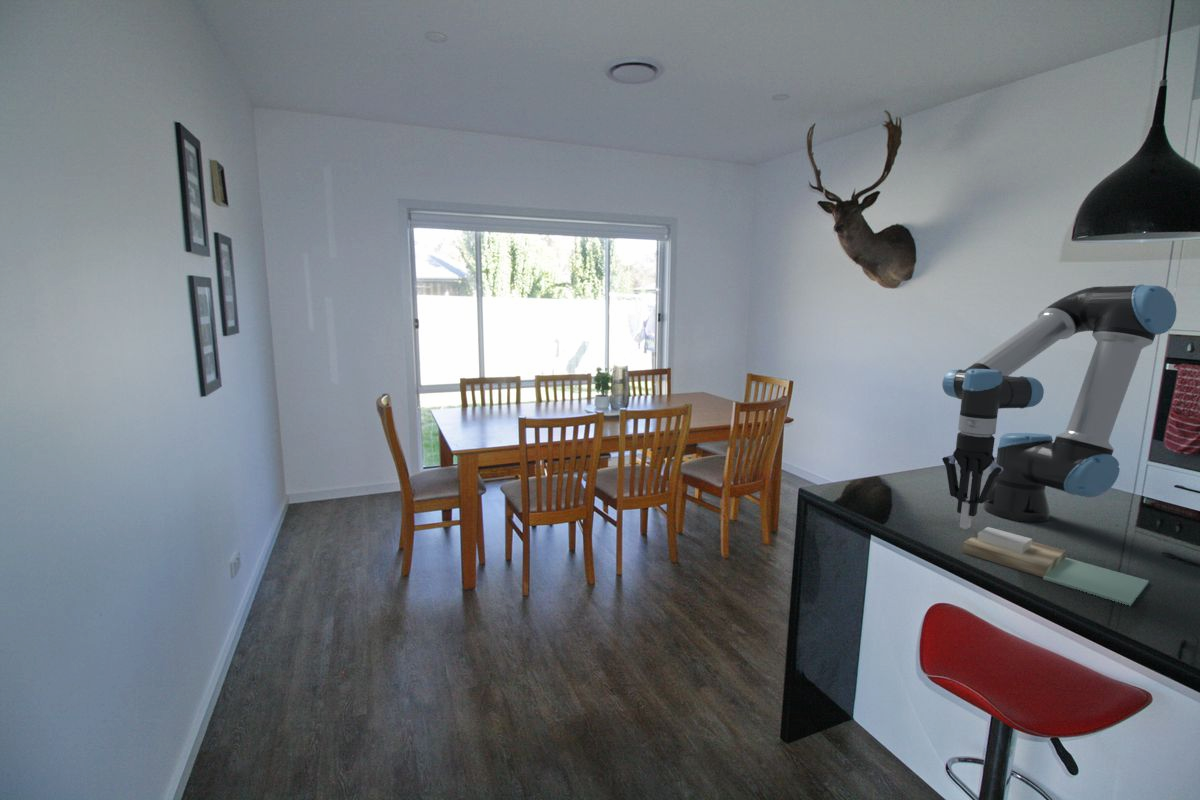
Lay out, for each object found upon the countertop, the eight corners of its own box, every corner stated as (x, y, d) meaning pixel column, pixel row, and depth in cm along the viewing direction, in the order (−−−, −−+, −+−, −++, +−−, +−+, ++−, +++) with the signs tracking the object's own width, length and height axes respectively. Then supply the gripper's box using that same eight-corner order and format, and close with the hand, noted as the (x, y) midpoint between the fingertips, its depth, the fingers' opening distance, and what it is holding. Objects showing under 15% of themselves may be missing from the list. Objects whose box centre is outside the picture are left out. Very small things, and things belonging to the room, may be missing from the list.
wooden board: (985, 538, 143) (986, 529, 143) (1064, 561, 131) (1065, 550, 130) (962, 552, 135) (963, 542, 134) (1044, 577, 122) (1045, 566, 122)
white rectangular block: (977, 540, 136) (978, 532, 135) (986, 534, 139) (987, 526, 139) (1022, 553, 129) (1023, 545, 128) (1031, 546, 132) (1032, 538, 132)
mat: (1065, 559, 131) (1065, 557, 131) (1148, 583, 120) (1148, 580, 120) (1042, 579, 122) (1043, 576, 122) (1130, 606, 111) (1130, 603, 111)
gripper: (940, 430, 139) (930, 522, 143) (1001, 440, 129) (989, 539, 133) (953, 427, 144) (943, 516, 148) (1013, 436, 134) (1001, 532, 137)
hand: (964, 526), depth 140 cm, fingers closed
